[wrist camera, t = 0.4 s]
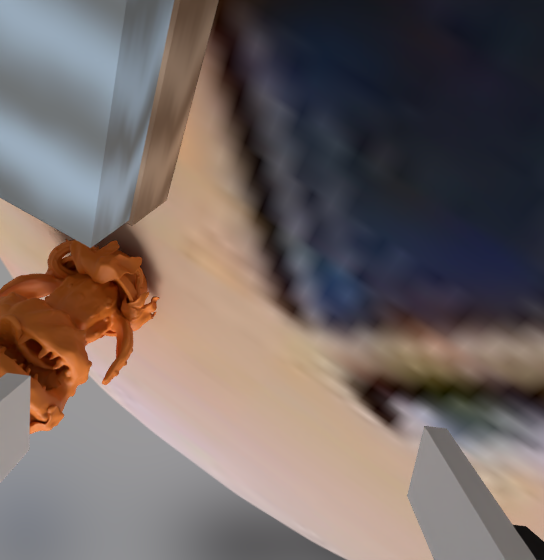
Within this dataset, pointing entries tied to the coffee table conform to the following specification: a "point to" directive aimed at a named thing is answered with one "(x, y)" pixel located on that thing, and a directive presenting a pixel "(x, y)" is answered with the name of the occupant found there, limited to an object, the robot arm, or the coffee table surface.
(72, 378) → the orange figurine
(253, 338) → the coffee table surface
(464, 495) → the robot arm
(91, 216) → the grey square block
